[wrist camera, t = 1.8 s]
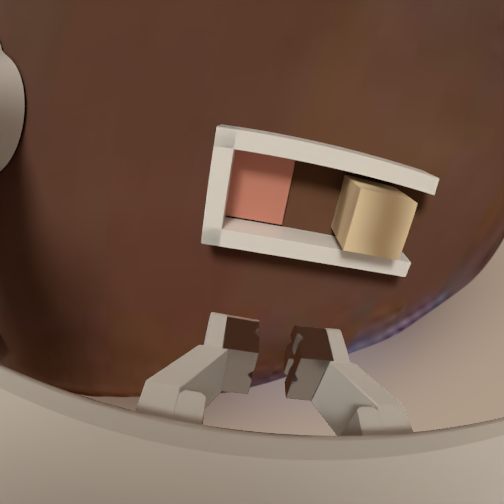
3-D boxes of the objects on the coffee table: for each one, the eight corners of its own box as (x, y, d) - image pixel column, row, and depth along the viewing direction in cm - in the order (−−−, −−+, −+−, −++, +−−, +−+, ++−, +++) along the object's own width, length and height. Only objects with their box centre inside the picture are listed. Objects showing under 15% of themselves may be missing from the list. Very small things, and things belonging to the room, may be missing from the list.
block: (330, 226, 29) (343, 250, 24) (344, 174, 27) (360, 188, 22) (379, 236, 29) (398, 260, 25) (394, 186, 27) (417, 203, 23)
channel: (206, 229, 29) (200, 243, 27) (221, 124, 25) (216, 126, 22) (394, 262, 30) (405, 277, 28) (423, 170, 26) (439, 178, 23)
